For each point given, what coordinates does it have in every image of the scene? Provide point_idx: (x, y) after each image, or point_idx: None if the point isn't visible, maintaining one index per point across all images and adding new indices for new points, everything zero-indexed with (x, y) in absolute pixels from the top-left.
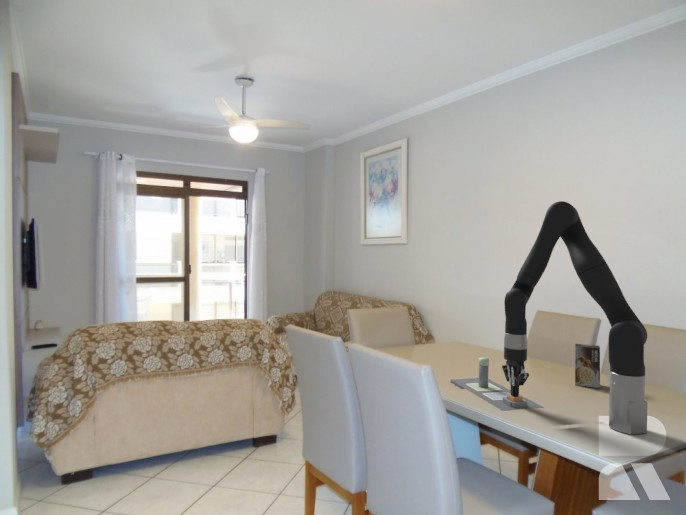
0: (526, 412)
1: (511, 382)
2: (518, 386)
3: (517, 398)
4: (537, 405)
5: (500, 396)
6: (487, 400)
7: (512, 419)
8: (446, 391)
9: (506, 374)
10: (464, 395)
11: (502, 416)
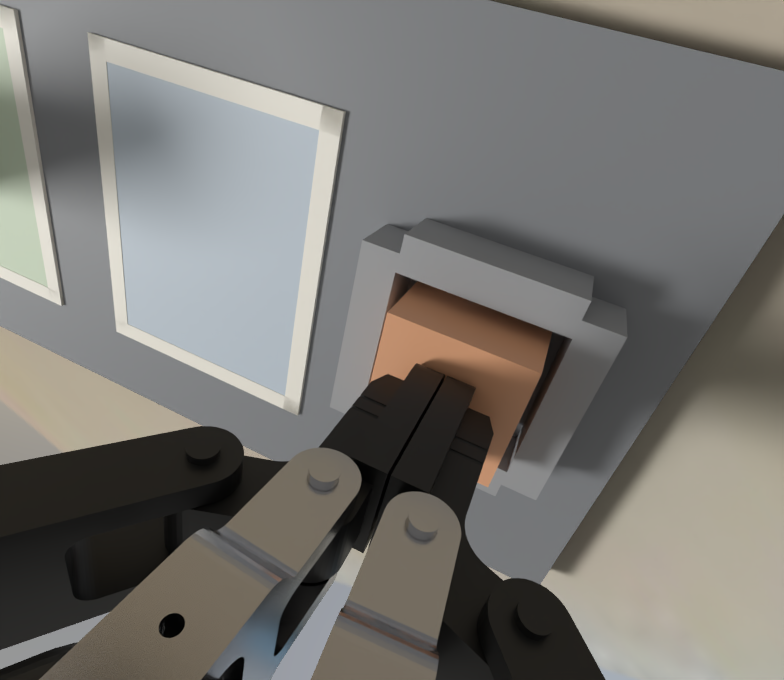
0: (682, 387)
1: (325, 591)
2: (462, 543)
3: (512, 433)
4: (706, 118)
5: (218, 259)
6: (277, 447)
7: (700, 636)
8: (27, 418)
9: (90, 610)
10: (104, 401)
11: (588, 617)
